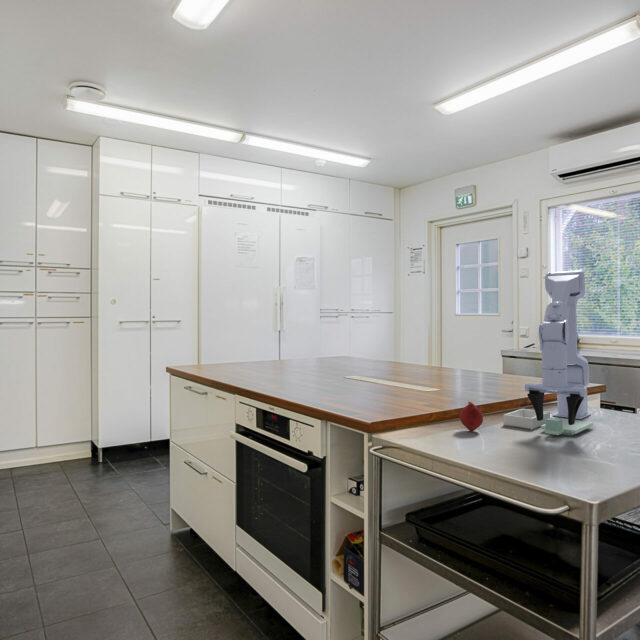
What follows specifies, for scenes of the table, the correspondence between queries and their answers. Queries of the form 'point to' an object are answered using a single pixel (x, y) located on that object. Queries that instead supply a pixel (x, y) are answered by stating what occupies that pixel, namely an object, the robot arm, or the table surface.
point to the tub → (524, 419)
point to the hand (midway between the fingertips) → (555, 422)
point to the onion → (471, 416)
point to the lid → (564, 426)
